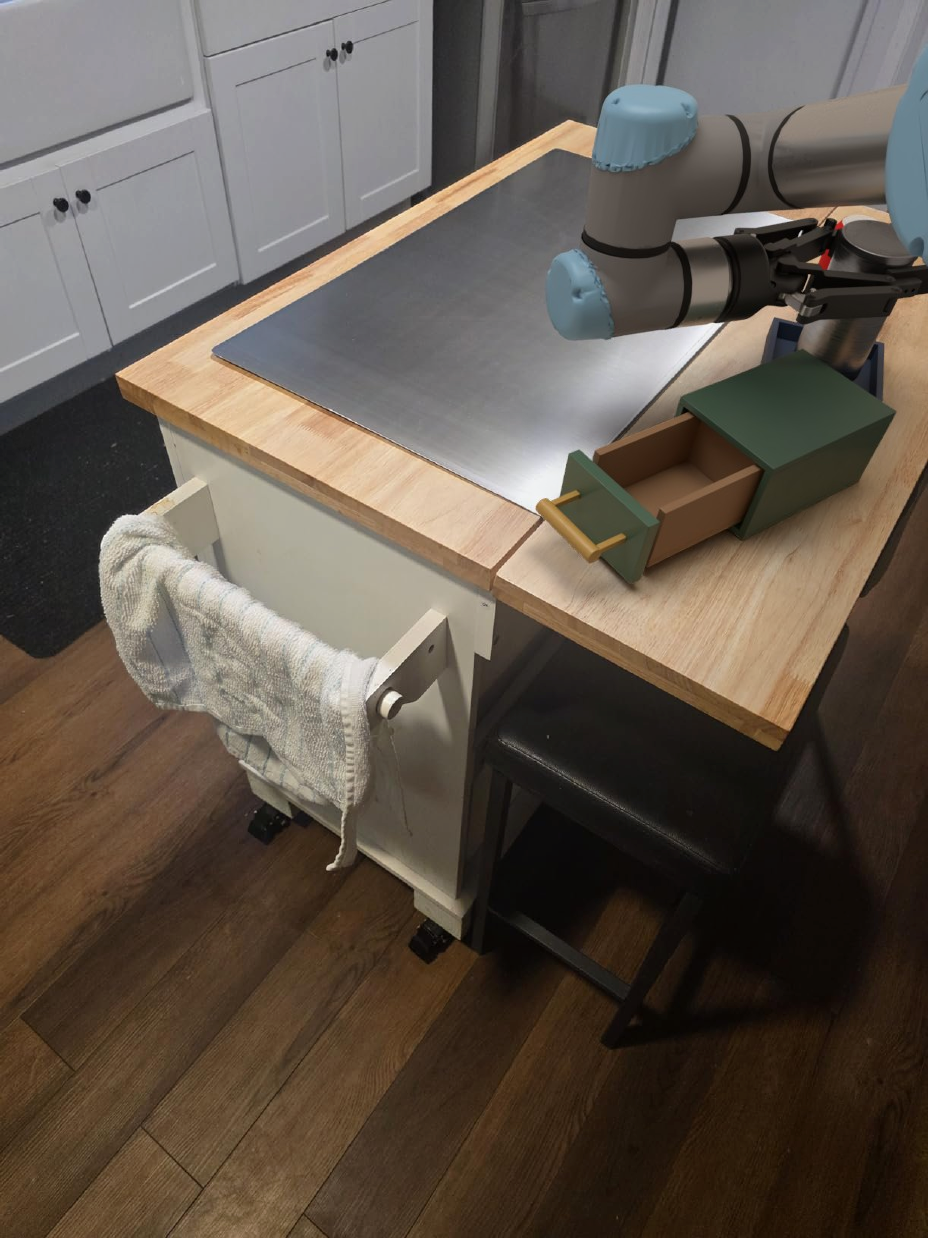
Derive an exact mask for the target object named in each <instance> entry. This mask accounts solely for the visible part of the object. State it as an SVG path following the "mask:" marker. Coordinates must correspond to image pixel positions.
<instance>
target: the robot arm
mask: <svg viewBox="0 0 928 1238" xmlns="http://www.w3.org/2000/svg"><path fill="white" fill-rule="evenodd" d="M591 153H592V154H591V163H590V164H591V165H590V174H589V183H588V193H587V200H586V212H585V221H584V225H583V230H582V232H581V234H580V240H579V246H578V248H574V249H573V248H571V249H570V250H568V251H565V252H560V253H559V254H557V256H555V257H554V258H553V259H552V261H551V263H550V268H549V269H548V271H547V273H546V277H545V288H544V289H545V304H546V309H547V314H548V317H549V321H550V323H551V324H552V326H553V328H554V330H555V331H557V332H558V334H559V336H561V337H562V338H563V339H565V340H567V341H572V342H577V341H589V340H591V341H592V340H604V341H608V340H609V341H610V340H612V339H613V338H618V337H623V336H630V335H631V336H632V335H637V334H643V333H649V332H657V331H666V330H667V331H668V330H672V329H680V328H681V329H682V328H687V327H689V328H690V327H696V326H705V325H709V324H723V323H730V322H740V321H745V320H748V319H751V318H752V317H753V316H755V315H756V314H757V313H759V312H760V311H761V310H762V309H764V308H766V307H776V308H786V307H791V308H792V309H793V310H794V311H796V312H797V315H796V318H795V322H797V323H800V324H804V325H806V324H809V323H812V322H815V321H819V320H830V319H851V318H871V317H887V318H889V317H890V316H891V314H892V312H893V310H894V309H895V306H896V304H897V302H898V300H899V299H900V300H901V299H908V298H913V297H915V296H920V295H928V41H927V42H926V44H925V45H924V47H923V49H922V50H921V52H920V54H919V56H918V57H917V59H916V60H915V63H914V64H913V67H912V71H911V75H910V79H909V82H908V83H903V84H898V85H893V86H888V87H883V88H880V89H879V88H878V89H874V90H869V91H865V92H860V93H855V94H850V95H846V96H845V95H844V96H842V97H837V98H831V99H827V100H821V101H817V102H812V103H808V104H802V105H797V106H792V107H787V108H783V109H777V110H770V111H769V110H768V111H760V112H759V111H758V112H749V113H738V114H737V113H736V114H708V115H699V104H698V101H697V100H696V99H695V97H694V96H693V95H692V94H690V93H688V92H687V91H685V90H682V89H679V88H675V87H672V86H666V85H651V84H644V83H639V84H638V83H637V84H629V85H624V86H621V87H618V88H616V89H614V90H612V91H611V92H610V94H608V95H607V96H606V97H605V99H604V101H603V104H602V105H601V112H600V115H599V118H598V123H597V127H596V132H595V137H594V141H593V147H592V150H591ZM882 205H883V206H884V205H886V208H887V212H888V216H889V220H890V222H888V223H889V224H892V226H893V228H894V231H895V233H896V235H897V237H898V238H899V240H900V242H901V244H902V245H903V246H904V247H905V248H906V250H907V251H908V253H909V254H911V255H913V256H917V257H918V258H921V259H922V263H923V264H919V265H912V266H909V267H902V268H893V269H887V270H886V272H885V275H879V274H868V273H857V272H846V271H835V270H824V269H822V267H821V265H820V264H818V263H815V262H811V261H812V260H815V259H817V258H819V257H821V255H823V254H825V252H826V250H828V249H830V250H829V252H828V254H827V255H828V256H829V257H830V258H831V259H832V257H833V254H834V252H835V250H836V247H837V245H838V242H839V236H840V233H841V231H842V228H841V229H835V227H836V225H837V224H838V220H837V219H836V218H832V217H827V218H825V221H824V223H823V225H822V226H820V225H819V221H820V220H819V219H817V218H815V217H805V218H800V219H796V220H795V219H794V220H790V221H784V222H779V223H773V224H769V225H763V226H758V227H735V228H734V231H733V234H728V235H727V234H726V235H719V236H714V237H709V236H704V237H695V238H689V239H688V238H687V239H681V240H673V235H674V233H675V228H676V224H677V221H678V220H687V219H688V220H689V219H696V218H697V219H698V218H708V217H709V218H710V217H721V216H725V215H734V214H736V215H738V214H749V213H750V214H752V213H763V212H765V213H766V212H775V211H795V210H796V211H797V210H806V209H820V208H821V209H822V208H824V209H825V208H841V207H842V208H843V207H862V206H863V207H865V206H882ZM672 240H673V241H672Z"/></svg>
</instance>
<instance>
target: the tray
mask: <svg viewBox="0 0 928 1238" xmlns="http://www.w3.org/2000/svg"><path fill="white" fill-rule="evenodd" d="M803 327H804V324H800V323H798V322H797V321H793V320H789V319H784V318H780V317H776V316H774V317H773V319H772V322H771V324H770V326H769V329H768V332H767V334H766V337H765V342H764V347H763V352H762V358H761V362H760V365H762V364H764V363H767V362H769V361H772V360H774V359H777V358H780V357H782V356H785V355H787V354H790V353H792V352H793V351H794V349H795V346H796V344H797V341H798V339H799V337H800V334H801V332H802V329H803ZM884 369H885V343H884V342H882V341H878V340H876V341H875V343H874V345H873V347H872V349H871V351H870V353H869V355H868V357H867V359H866V361H865V363H864V365H863V367H862V369H861V372H860V374H859V376H858V377H857V379H856V380H854V381H853V383H855V384H856V385H858V386H859V387H861V388H862V389H864V390H865V391H867V392H868V393H870V394H871V395H873V396H874V397H876V398H877V399H879V400H880V401H882V402H883V403H884V373H885V371H884Z"/></svg>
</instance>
